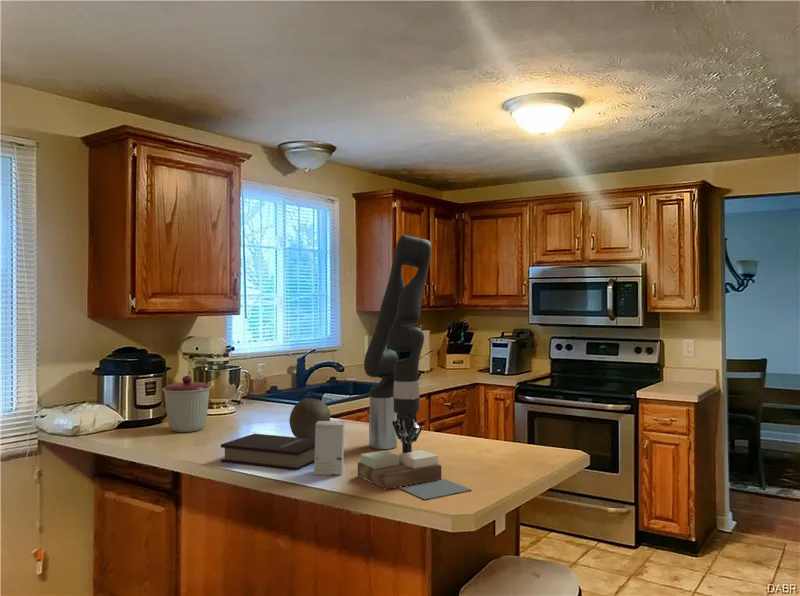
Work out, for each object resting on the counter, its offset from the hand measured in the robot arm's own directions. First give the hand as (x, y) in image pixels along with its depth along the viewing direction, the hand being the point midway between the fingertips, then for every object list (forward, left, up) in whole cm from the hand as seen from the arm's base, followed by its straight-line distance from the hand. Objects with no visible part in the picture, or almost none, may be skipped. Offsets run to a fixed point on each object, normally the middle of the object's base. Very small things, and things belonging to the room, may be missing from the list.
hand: (407, 455), depth 193 cm
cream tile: (+5, 0, -1) cm, 6 cm away
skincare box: (-13, -18, -5) cm, 23 cm away
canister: (-100, -37, -5) cm, 107 cm away
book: (-38, -25, -6) cm, 46 cm away
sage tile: (0, -9, -1) cm, 9 cm away
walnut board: (+3, -4, -5) cm, 7 cm away
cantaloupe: (-56, -5, -5) cm, 57 cm away
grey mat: (+18, -2, -5) cm, 19 cm away
